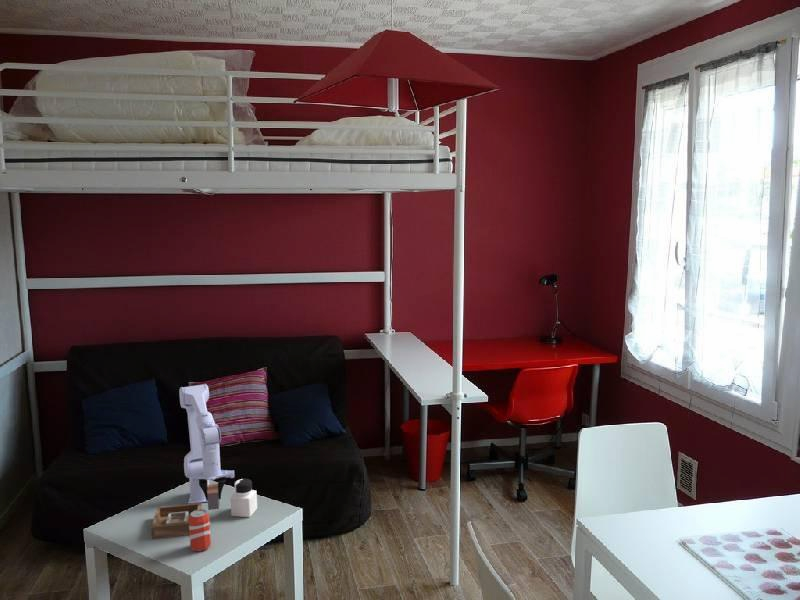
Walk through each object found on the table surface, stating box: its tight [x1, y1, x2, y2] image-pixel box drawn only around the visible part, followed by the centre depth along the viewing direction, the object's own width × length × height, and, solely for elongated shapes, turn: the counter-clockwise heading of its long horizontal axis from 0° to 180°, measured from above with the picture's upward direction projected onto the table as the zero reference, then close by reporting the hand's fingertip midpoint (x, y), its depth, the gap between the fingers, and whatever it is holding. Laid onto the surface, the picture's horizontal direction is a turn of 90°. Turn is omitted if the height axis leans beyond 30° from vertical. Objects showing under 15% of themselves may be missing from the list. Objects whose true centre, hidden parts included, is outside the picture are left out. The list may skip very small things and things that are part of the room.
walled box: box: [150, 502, 203, 540], centre depth 231 cm, size 15×15×4 cm
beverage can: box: [189, 508, 212, 552], centre depth 215 cm, size 6×6×12 cm
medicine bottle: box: [230, 478, 258, 518], centre depth 239 cm, size 7×7×12 cm
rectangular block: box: [207, 483, 221, 511], centre depth 229 cm, size 5×4×7 cm
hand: (213, 498), depth 229 cm, fingers closed on rectangular block, 3 cm apart
